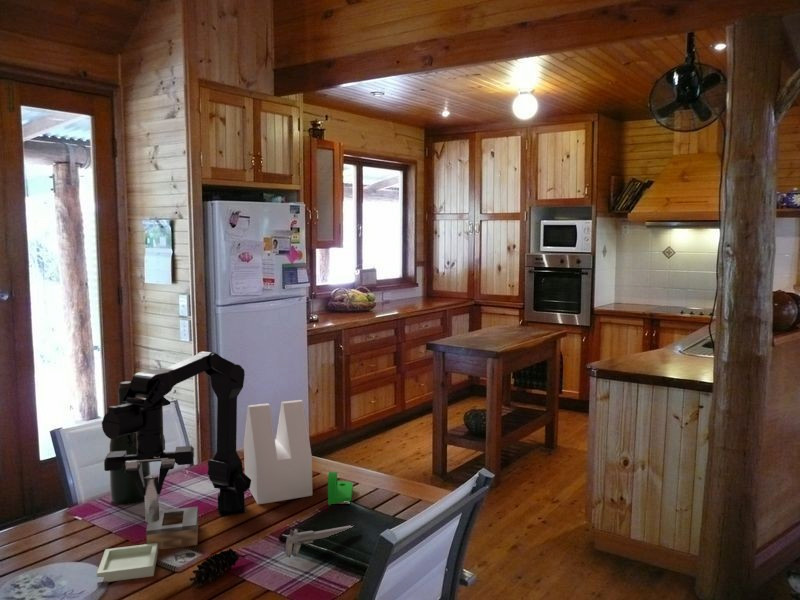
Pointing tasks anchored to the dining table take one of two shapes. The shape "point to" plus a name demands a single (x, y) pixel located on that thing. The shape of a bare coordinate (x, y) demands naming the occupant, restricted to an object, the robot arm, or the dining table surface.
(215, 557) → the pine cone
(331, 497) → the mechanical part
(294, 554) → the caliper
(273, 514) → the dining table surface
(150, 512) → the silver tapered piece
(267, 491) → the white notched block
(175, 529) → the block
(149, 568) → the tray
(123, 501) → the dark green wine bottle
